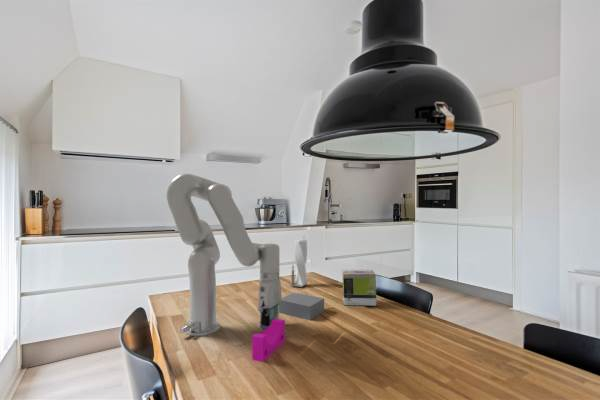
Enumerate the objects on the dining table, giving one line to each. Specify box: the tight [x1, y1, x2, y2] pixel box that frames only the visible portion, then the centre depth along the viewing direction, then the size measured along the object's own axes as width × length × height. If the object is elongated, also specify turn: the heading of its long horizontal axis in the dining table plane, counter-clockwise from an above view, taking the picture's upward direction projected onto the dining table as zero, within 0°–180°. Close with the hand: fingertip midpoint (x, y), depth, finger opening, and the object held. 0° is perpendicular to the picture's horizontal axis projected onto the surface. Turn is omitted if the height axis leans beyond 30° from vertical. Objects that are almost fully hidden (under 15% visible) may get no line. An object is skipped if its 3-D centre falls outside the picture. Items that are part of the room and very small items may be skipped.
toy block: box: [251, 318, 286, 363], centre depth 102 cm, size 15×6×8 cm, turn 156°
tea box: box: [341, 269, 377, 307], centre depth 147 cm, size 15×10×15 cm, turn 84°
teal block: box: [259, 304, 279, 329], centre depth 120 cm, size 5×5×8 cm
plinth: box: [278, 292, 325, 321], centre depth 135 cm, size 12×16×6 cm
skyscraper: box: [290, 235, 308, 288], centre depth 178 cm, size 8×8×28 cm
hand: (269, 322), depth 120 cm, fingers closed on teal block, 5 cm apart
